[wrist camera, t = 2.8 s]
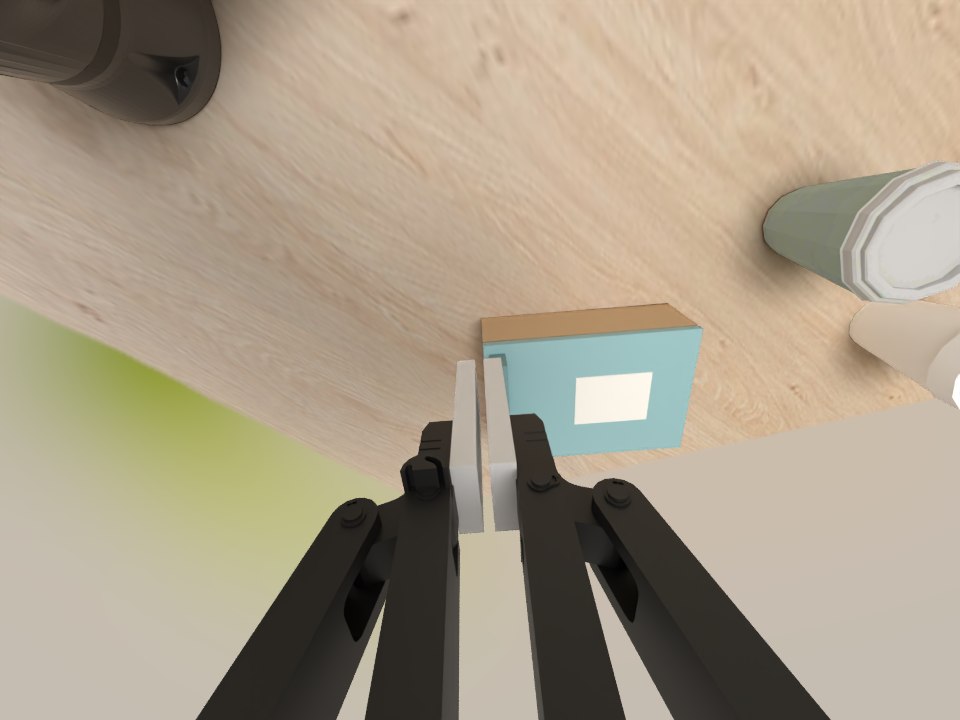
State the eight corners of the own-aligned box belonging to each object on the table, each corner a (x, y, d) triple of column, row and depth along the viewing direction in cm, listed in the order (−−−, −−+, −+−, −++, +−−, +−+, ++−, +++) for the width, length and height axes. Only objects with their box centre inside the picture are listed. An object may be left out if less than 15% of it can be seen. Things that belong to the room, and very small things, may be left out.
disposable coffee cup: (762, 287, 45) (886, 338, 31) (723, 211, 41) (845, 233, 27) (856, 224, 42) (1039, 252, 28) (824, 137, 38) (1016, 121, 25)
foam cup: (837, 299, 46) (962, 345, 34) (923, 270, 44) (1084, 307, 33) (835, 365, 50) (946, 426, 38) (914, 340, 48) (1054, 396, 37)
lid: (492, 456, 46) (493, 478, 43) (482, 342, 39) (483, 358, 36) (676, 442, 46) (692, 463, 43) (699, 325, 39) (719, 339, 36)
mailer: (489, 421, 52) (492, 455, 46) (481, 318, 46) (482, 341, 40) (651, 409, 52) (675, 441, 46) (667, 303, 45) (697, 324, 39)
